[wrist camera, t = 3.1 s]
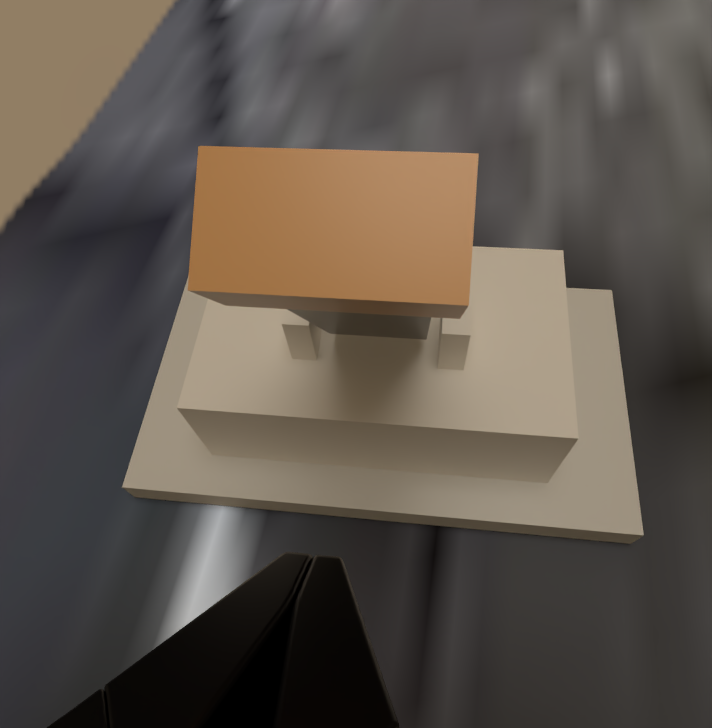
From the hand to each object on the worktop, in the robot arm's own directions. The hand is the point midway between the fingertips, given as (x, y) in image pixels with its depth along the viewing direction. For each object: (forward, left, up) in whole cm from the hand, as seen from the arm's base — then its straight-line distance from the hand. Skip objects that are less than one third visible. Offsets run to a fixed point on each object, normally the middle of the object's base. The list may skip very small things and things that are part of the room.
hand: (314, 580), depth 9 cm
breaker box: (+4, +8, -12) cm, 15 cm away
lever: (+4, +8, -7) cm, 11 cm away
